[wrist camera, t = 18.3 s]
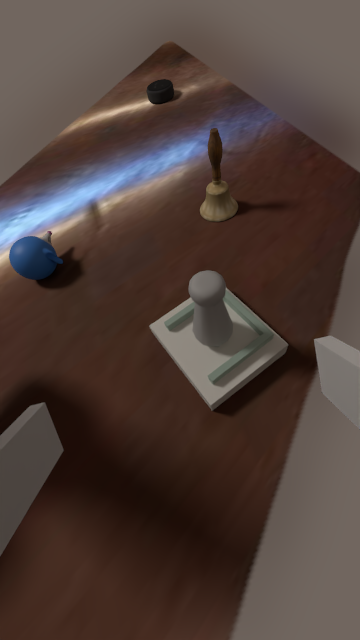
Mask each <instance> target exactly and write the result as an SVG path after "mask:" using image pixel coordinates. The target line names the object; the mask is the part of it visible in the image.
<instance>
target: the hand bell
mask: <svg viewBox="0 0 360 640" xmlns="http://www.w3.org/2000/svg"><path fill="white" fill-rule="evenodd" d="M208 155H209V159H210V162H211V165H212V179H213V180H212V183H210V184H209V185H208V186H207V189H206V200H205V201H204V202H203V204H202V205H201V208H200V214H201V216H202V217H203V218H204V219H206V220H208V221H215V222H219V221H224V220H227V219H229V218H231V217H232V216H234V215H235V214H236V212H237V210H238V204H237V202H236V200H235V199H234V198H232V197H231V196H230V193H229V188H228V184H227V183H226V182H224V181H221V172H220V163H221V158H222V142H221V138H220V136H219V133H218V129H217V128H213V129H211V130H210V137H209V141H208Z"/></svg>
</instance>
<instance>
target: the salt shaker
mask: <svg viewBox="0 0 360 640" xmlns="http://www.w3.org/2000/svg"><path fill="white" fill-rule="evenodd" d="M225 291H226V284H225V281H224V279H223V277H222V275H220V274H218V273H217V272H215V271H209V270H207V271H202V272H199V273H197V274H196V275H194V276H193V277H192V279H191V280H190V283H189V294H190V296H191V298H192V300H193V301H194V302H195V307H194V318H193V330H192V331H193V333H194V335H195V338H196V339H197V340H198V341H199V342H200V343H202V344H203V345H205V346H211V347H213V346H217V347H219V346H220V345H222V344H223V343H225V342H226V341H228V340H229V338H230V336H231V335H232V332H233V323H232V320H231V318H230V316H229V313H228V311H227V308H226V306H225V303H224V301H223V298H224V296H225Z"/></svg>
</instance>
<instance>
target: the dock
mask: <svg viewBox="0 0 360 640" xmlns="http://www.w3.org/2000/svg"><path fill="white" fill-rule="evenodd" d="M223 301H224V303H225V306H226V308H227V311H228V313H229V316H230V318H231V320H232V323H233V332H232V335H231V336H230V338H229V340H228V341H226V342H225V343H223V344H222V345H220V346H219V347H217V346H213V347H211V346H205V345H203V344H202V343H200V342H199V341H198V340H197V339H196V338H195V335H194V333H193V331H192V330H193V318H194V307H195V302H194V301H193V300H192V298H189V299H188V300H186V301H185V302H183V303H182V304H180V305H179V306H177V307H176V308H175V309H173V310H172V311H170V312H169V313H167V314H166V315H164V316H163V317H161V318H160V319H159V320H157V321H156V322H154V323H153V324H151V325H150V328H151V330H152V332H153V334H154V335H155V337H156V338H157V339H158V341H159V342H160V343H161V345H162V346H163V347H164V348H165V350H166V351H167V352H168V354H169V355H170V356H171V358H172V359H173V360H174V361H175V363H176V364H177V365H178V367H179V368H180V369H181V371H182V372H183V373H184V375H185V376H186V377H187V378H188V380H189V381H190V382H191V384H192V385H193V386H194V388H195V389H196V390H197V392H198V393H199V394H200V395H201V397H202V398H203V399H204V401H205V402H206V403H207V405H208V406H209V407H210V409H211V410H212V411H213V410H214V409H215V408H217V407H218V406H219V405H220V404H222V403H223V402H224V401H225V400H227V399H228V398H229V397H230V396H232V395H233V394H234V393H236V392H237V391H238V390H239V389H241V388H242V387H243V386H244V385H246V384H247V383H248V382H249V381H251V380H252V379H253V378H254V377H256V376H257V375H258V374H260V373H261V372H262V371H263V370H265V369H266V368H267V367H268V366H270V365H271V364H272V363H273V362H275V361H276V360H277V359H279V358H280V357H281V356H282V355H284V354H285V353H286V350H287V347H288V344H287V343H286V342H285V341H284V340H283V339H282V338H281V337H280V336H279V335H278V334H276V333H275V332H274V331H273V330H272V329H271V328H270V327H269V326H268V325H267V324H266V323H264V322H263V321H262V320H261V319H260V318H259V317H258V316H257V315H256V314H255V313H253V312H252V311H251V310H250V309H249V308H248V307H247V306H246V305H245V304H244V303H242V302H241V301H240V300H239V299H238V298H237V297H236V296H235V295H234V294H233V293H231V292H230V291H229V290H228V289H227V288H226V291H225V296H224V298H223Z"/></svg>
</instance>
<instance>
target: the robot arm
mask: <svg viewBox="0 0 360 640" xmlns="http://www.w3.org/2000/svg"><path fill="white" fill-rule="evenodd" d="M314 343H315V350H316V356H317V363H318V370H319V376H320V383H321V389H322V393H323V394H324V395H325V396H326V397H327V398H328V399H329V400H330V401H331V402H332V403H333V404H334V405H335V406H336V407H337V408H338V409H339V410H340V411H341V412H342V413H343V414H344V415H346V417H347V418H348V419H350V420H351V421H352V422H353V423H354V424H355V425H356V426H357V427H358V428H359V429H360V351H359V350H357V349H355V348H353V347H351V346H349V345H347V344H345V343H344V342H342V341H340V340H338V339H336V338H334V337H332V336H327V337H323V338H318V339H314ZM63 451H64V450H63V447H62V444H61V442H60V439H59V437H58V434H57V432H56V429H55V427H54V424H53V422H52V419H51V417H50V414H49V412H48V409H47V407H46V404H45V402H44V403H40V404H36V405H31V406H29V407H28V408H27V409H26V410H25V411H24V412H23V413H22V414H21V415H20V416H19V417H18V418H17V419H16V420H15V421H14V422H13V423H12V424H11V425H10V426H9V427H8V428H7V429H6V430H5V431H4V432H3V433H2V434H1V435H0V556H1V554H2V553H3V551H4V549H5V548H6V546H7V544H8V543H9V541H10V539H11V538H12V536H13V534H14V533H15V531H16V529H17V528H18V526H19V524H20V523H21V521H22V519H23V518H24V516H25V514H26V513H27V511H28V509H29V507H30V506H31V504H32V502H33V501H34V499H35V497H36V496H37V494H38V492H39V491H40V489H41V487H42V486H43V484H44V482H45V481H46V479H47V477H48V476H49V474H50V472H51V471H52V469H53V467H54V466H55V464H56V462H57V461H58V459H59V457H60V456H61V454H62V452H63Z"/></svg>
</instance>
